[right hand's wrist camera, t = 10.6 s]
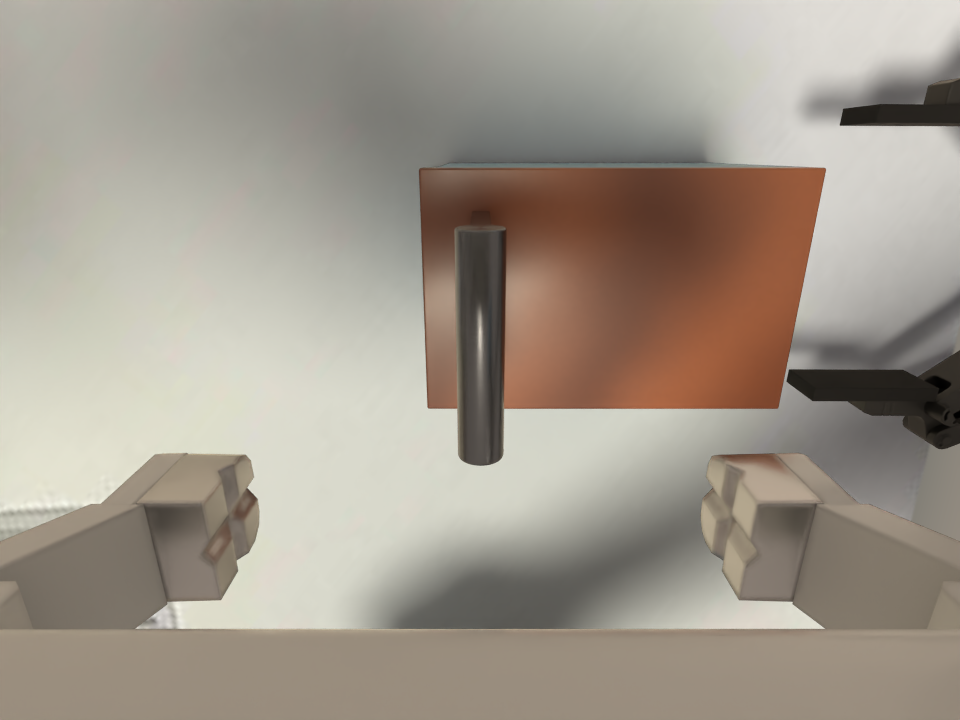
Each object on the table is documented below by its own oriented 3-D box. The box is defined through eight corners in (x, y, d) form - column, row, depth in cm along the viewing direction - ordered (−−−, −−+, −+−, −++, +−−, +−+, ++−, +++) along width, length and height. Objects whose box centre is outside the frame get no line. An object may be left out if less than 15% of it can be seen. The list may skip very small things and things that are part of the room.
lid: (429, 399, 26) (407, 504, 18) (421, 167, 22) (389, 175, 15) (767, 399, 26) (890, 505, 18) (811, 167, 22) (987, 174, 14)
